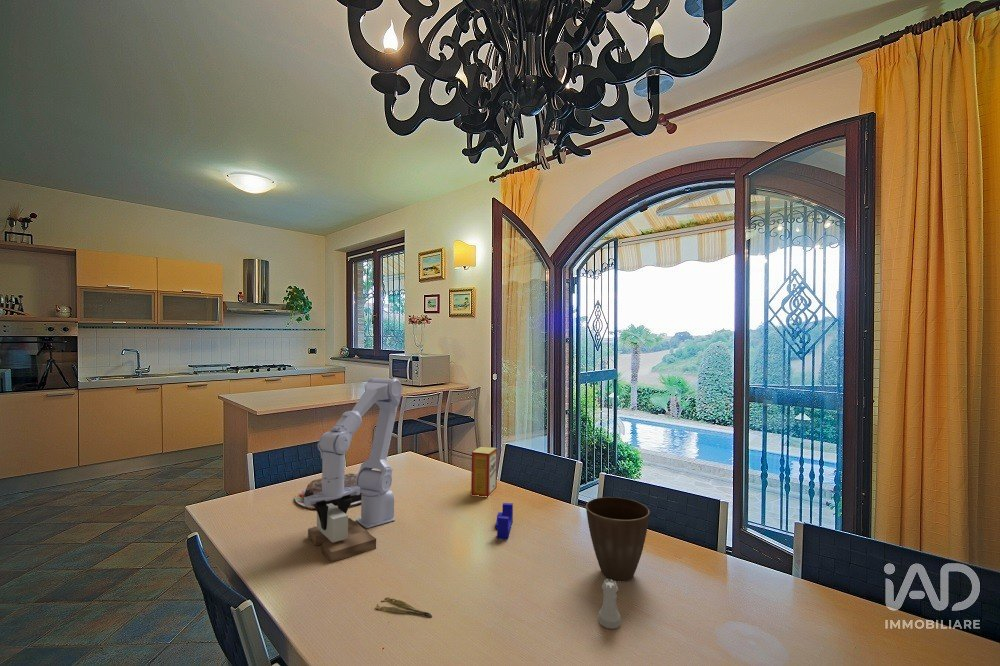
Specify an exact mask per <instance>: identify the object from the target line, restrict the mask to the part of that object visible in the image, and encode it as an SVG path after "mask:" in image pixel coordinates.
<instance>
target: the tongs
mask: <svg viewBox="0 0 1000 666" xmlns="http://www.w3.org/2000/svg"><path fill="white" fill-rule="evenodd" d="M380 602H382V603H383V602H386V603H387V602H389V603H392V604H395V605H398V606H400V607H403V608H405V609H403V608H399V607H395V606H380V605H379V603H376V606H375V607H374V609H376V610H380V611H387V612H394V613H402V614H409V615H416V616H422V617H426V618H432V617H433V615H432V614H431V613H430V612H428V611H423V610H419V609H417V608H415V607H413V606H412V605H410V604H409V603H407V602H406V601H403V600H401V599H395V598H394V597H393V598H391V597H389V596H387V597H385V598H384V599H383V600H381V601H380Z"/></svg>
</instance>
